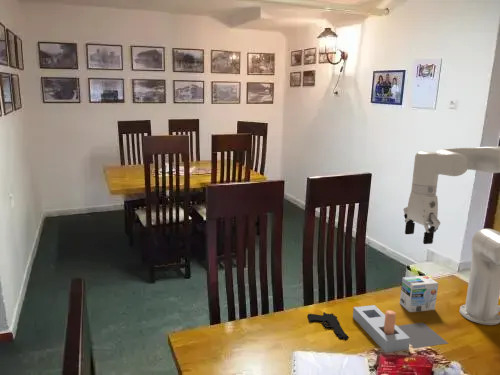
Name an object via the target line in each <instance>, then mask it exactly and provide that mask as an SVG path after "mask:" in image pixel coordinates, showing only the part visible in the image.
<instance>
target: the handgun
mask: <svg viewBox="0 0 500 375" xmlns="http://www.w3.org/2000/svg"><path fill="white" fill-rule="evenodd" d="M322 313H323V314H322V315H321V314H315V313H308V314H307V318H308V322H309V323H315V322H316V323H322V327H323V328H324V329H325V330H328V329H329V330H333V332H334V333H335V335H336V337H337V338H338V339H339V340H343V341H348V340H349V337H350V336H348V334H347V333H345V331H344V330H343V327H342V326H341V323H340V321H339V320H338V316H336V315H335V314H334V313H333V312H331V313H326V312H322Z"/></svg>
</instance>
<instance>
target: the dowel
mask: <svg viewBox="0 0 500 375" xmlns="http://www.w3.org/2000/svg"><path fill="white" fill-rule="evenodd" d="M384 314H385V323H384V333H385V334H386V335H392V334H394V328H395V324H396V319H397V317H396V316H397V313H396V312H395V311H393V310H389V309H388V310H386V311H385V313H384Z"/></svg>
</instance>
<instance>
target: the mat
mask: <svg viewBox="0 0 500 375" xmlns="http://www.w3.org/2000/svg"><path fill="white" fill-rule="evenodd" d="M397 326H398V327H399V328H400V329H401V330H402V331H403V332H404V333H405V334H406V335H407V336H409V337H410V344H409V345H411V346H412V347H413V349H419V348H425V347H431V346H433V347H434V346H440V345H446V344H447V345H448V344H449V342H448V341H447V340H445V339H444V338H443V337H442V336H440V335H439V334H438V333H437V332H436V331H434V330H433V329H432V328H431V327H429V326H428V325H427V324H426V323H425V322H414V323H409V324H401V325H397Z"/></svg>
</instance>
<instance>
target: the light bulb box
mask: <svg viewBox="0 0 500 375" xmlns="http://www.w3.org/2000/svg"><path fill="white" fill-rule="evenodd" d="M400 288H401V290H400V298H399V305H401V306H402V307H403V308H404V309H405V310H406V311H407V312H409V313H417V312H425V311H426V312H427V311H435V309H436V302H437V296H438V291H439V290H438V289H439V282H437V281H436V280H434V279H433V278H431V277H430V276H429V275H417V276H407V277H405V276H404V277H403V276H402V279H401V287H400Z"/></svg>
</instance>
